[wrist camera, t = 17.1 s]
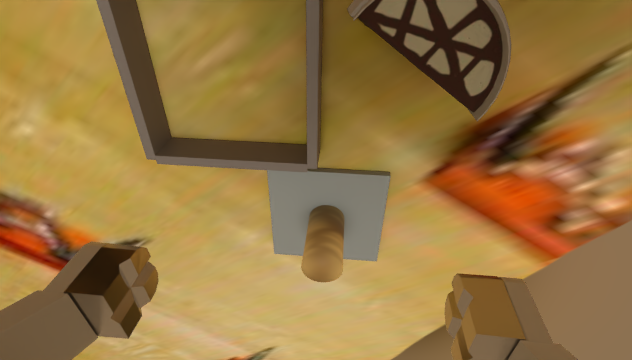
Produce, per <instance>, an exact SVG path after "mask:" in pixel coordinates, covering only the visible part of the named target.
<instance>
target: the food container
mask: <svg viewBox="0 0 632 360" xmlns="http://www.w3.org/2000/svg"><path fill="white" fill-rule="evenodd" d="M347 10H348V12H349V14H350V16H351V17H353V20H355V19H356V18H358V19H359V20H360V21H362V22H363V23H364V24H365V25H366V26H367V27H369V28H371V29H372V30H373V31H374V32H376V33H377V34H378V35H379V36H380V37H382V38H383V39H384V40H385V41H386V42H388V43H389V44H390V45H391V46H392V47H394V48H395V49H396V50H397V51H398V52H400V53H401V54H402V55H403V56H404V57H406V58H407V59H408V60H409V61H410V62H411V63H413V64H414V65H415V66H416V67H417V68H419V69H420V70H421V71H422V72H423V73H425V74H426V75H427V76H429V77H430V78H431V79H432V80H434V81H435V82H436V83H437V84H439V85H440V86H441V87H442V88H443V89H445V90H446V91H447V92H448V93H449V94H451V95H452V96H453V97H454V98H456V99H457V100H458V101H459V102H460V103H462V104H463V105H464V106H465V107H467V108H468V110H469V111H470V112H471V114H472V115H473V116H474V118H475V119H476V120H477V121H478V120H479V119H480V118H481V117H482V116H483V115H484V114H485V113H486V112H487V110H488V109H489V108H490V107H491V105H492V104H493V103H494V101H495V99H496V98H497V96H498V94H499V92H500V91H501V89H502V86H503V83H504V81H505V78H506V75H507V71H508V67H509V63H510V56H511V38H510V30H509V27H508V23H507V20H506V17H505V14H504V12H503V10H502V8H501V6H500V4H499V2H498V0H354V1H353V2H352V3H351V5H350V6H349V7H348V8H347Z"/></svg>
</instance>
